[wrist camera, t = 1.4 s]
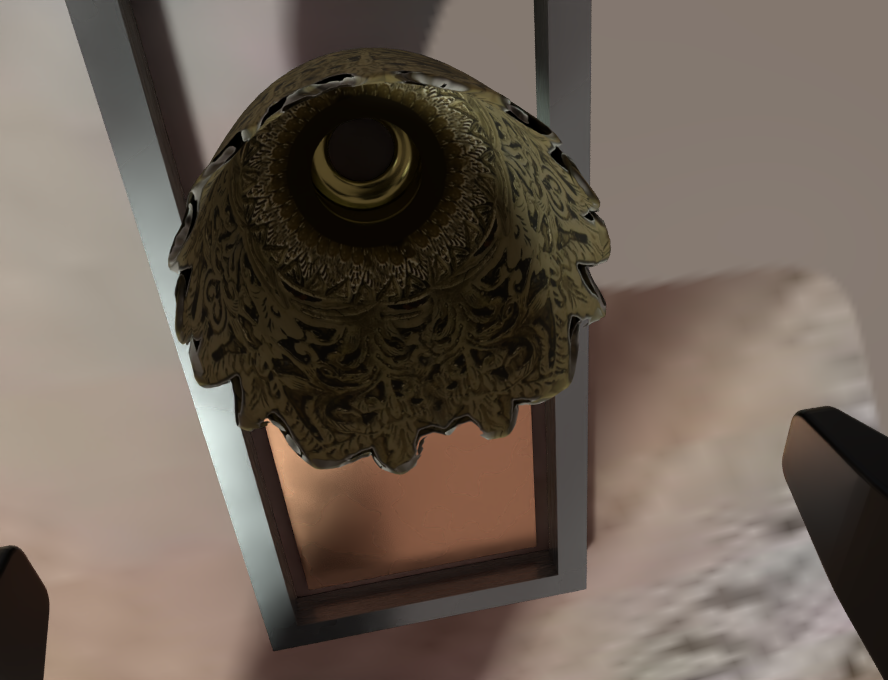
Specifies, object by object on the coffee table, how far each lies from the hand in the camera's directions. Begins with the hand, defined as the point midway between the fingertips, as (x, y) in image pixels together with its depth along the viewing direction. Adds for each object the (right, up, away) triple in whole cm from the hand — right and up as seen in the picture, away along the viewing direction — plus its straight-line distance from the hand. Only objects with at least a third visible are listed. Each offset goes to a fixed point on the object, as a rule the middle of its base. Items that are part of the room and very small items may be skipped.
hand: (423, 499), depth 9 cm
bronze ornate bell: (-2, +7, +11) cm, 13 cm away
